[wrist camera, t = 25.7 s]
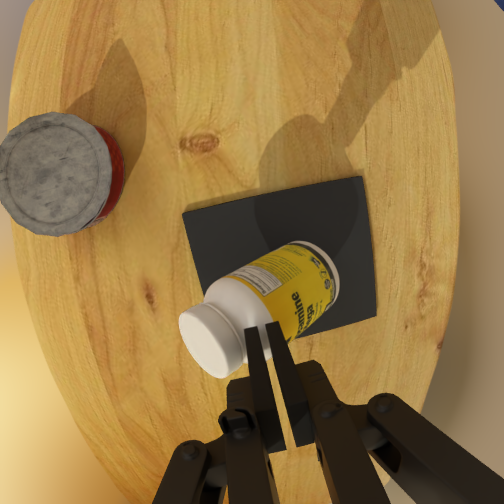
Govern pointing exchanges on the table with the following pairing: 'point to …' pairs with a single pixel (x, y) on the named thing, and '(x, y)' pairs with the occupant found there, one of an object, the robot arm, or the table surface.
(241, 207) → the mat
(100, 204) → the canned food
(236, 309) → the pill bottle
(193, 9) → the table surface
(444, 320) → the table surface
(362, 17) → the table surface
